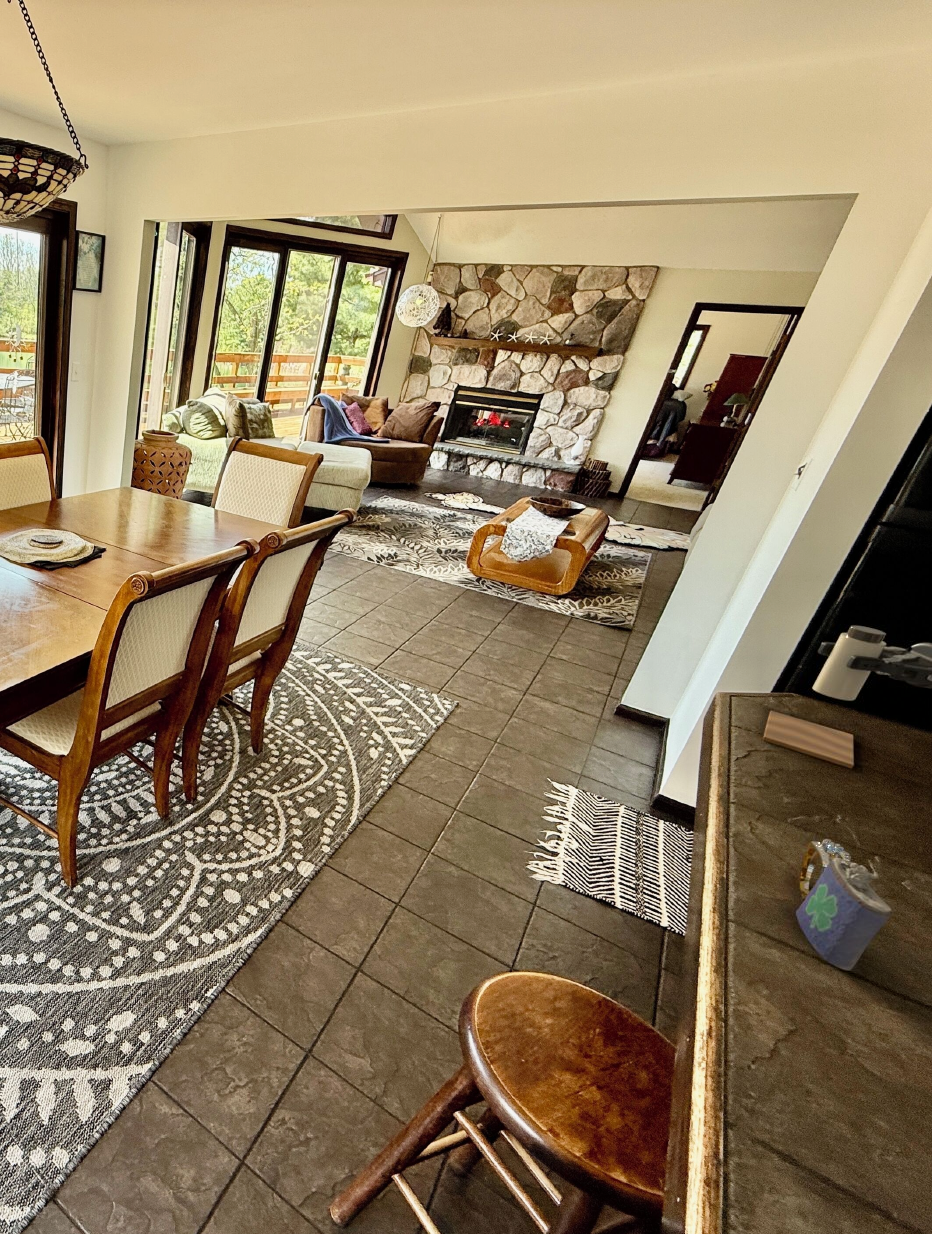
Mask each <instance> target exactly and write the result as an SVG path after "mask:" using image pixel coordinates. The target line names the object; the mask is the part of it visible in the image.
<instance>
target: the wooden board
mask: <svg viewBox="0 0 932 1234" xmlns="http://www.w3.org/2000/svg"><path fill="white" fill-rule="evenodd" d="M762 741H763V742H766V743H770V744H773V745H776V746H779V747H782V748H786V749H789V750H792V751H795V752H797V753H802V754H803V755H804V754H805V755H807V756H810V757H813V758H816V759H819V760H823V761H826V762H829V763H833V764H836V765H837V766H842V767H845V768H848V769H851V770H852V769H853V767H854V766H855V761H854V759H855V758H854V753H855V752H854V734H852V733H848V732H846V731H842V730H838V729H835V728H832V727H828V726H825V725H821V724H818V723H814V722H811V721H808V720H804V719H801V718H797V717H795V716H791V715H788V714H784V713H780V712H777V711H774V710H770V711H769V713H768V717H767V721H766V724H765V728H764V732H763V736H762Z"/></svg>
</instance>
